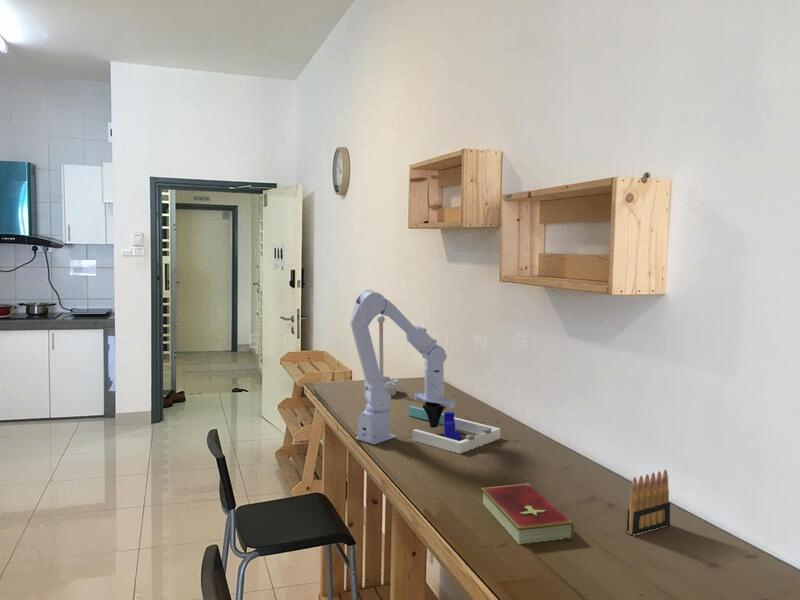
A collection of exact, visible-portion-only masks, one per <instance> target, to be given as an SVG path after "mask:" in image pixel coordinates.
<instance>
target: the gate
mask: <svg viewBox="0 0 800 600" xmlns="http://www.w3.org/2000/svg"><path fill="white" fill-rule="evenodd" d="M407 410H408V416H410V417H414V418H418V419H420V420H426V421H429V419H428V416H427V414H426V412H425V410H424V408H423V407H417V406H413V405H409V406H408V409H407ZM439 424H441V425H444V413H442V414H441V417H440V420H439Z"/></svg>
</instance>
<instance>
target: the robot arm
mask: <svg viewBox="0 0 800 600" xmlns="http://www.w3.org/2000/svg"><path fill="white" fill-rule="evenodd" d="M379 314H380V315H382V316H386V317H388V319H389V318H390V320H392V321H393V322H394V323H395V324H396V325H397V326H398V327H399V328H400V329H401V330H402V331H403V332H404V333H405V336H406V339H405V340H406V341H407V342H408V343H409V344H411V346H412V347H414V349H415V350H416V351H417V352H419V354H421V356H422V359H425V360H424V393H420V392H418V393H414V401H420V402H425V403H424V404H422V409H424V410H425V412H426V414H427V416H428V419H429V420H428V422H429V426H430V428H433V429H435V428H438V427H439V424H440V423H439V420H440V417H441V414H443V413H444V411H445V408H448V409H454V408H455V407H456V406H455V405H456V403H455V400H452V399H450V398H447V397H445V395H444V391H445V390H444V387H445V386H444V379H445V378H444V372H445V371H444V370H445V369H444V363H445V361H446V360H447V358H448V357H447V356H448V355H447V354H446V350H445V349H444V347H442V346H440V345H439V344H438V343H437V342H438V341H437V339H435V338H434V339H433V337H432V336H431V335H429V334H428V332H427V331H428V330H427V329H426V328H425V327H424V326H423V327H422V326H420V325H413V324H412V322H411V321H410V320H409V319H408V318H407V317H406V316H405V315H404V313H402V311H400V309H398V307H397V306H396V305H395V303H393V302H391V301H390V300H389V299H387V298H385V296H384V295H382V293H380V292H376V291H375V290H372V289H366V290H363V291H362V292H361V293H360V294H359V295H358V296H357V298H356V299H355V302H354V308H353V311H352V315H351V318H350V328H351V331H352V336H353V339H354V342H355V347H356V351H357V354H358V360H359V363H360V366H361V369H362V374H363V377H364V379H365V381H363V382H364V383H365V386H364V398H365V400H366V401H367V403H366V405H365V410H364V411H363V412H361V413H360V414H359V415H358V418H357V436H356V437H355V439H356V440H358V441H361V442H365V443H367V444H368V443H369V444H370V445H371V444H372V445H376V444H379V443H380V444H381V443H384V442H385V441H389V440H392V439H395V438H397V435H396V434H392V433H391V416H390V415H391V404H392V396H390V394H389V393H388V392H387V391H386V389H385V385H384V383H383V380H382V378H381V375H380V371H379V365H378V363H379V362H378V360H377V359H378V358H377V356H376V351H375V348H374V345H373V340H372V336H371V332H370V328H369V325H371V323H372V321H373V319H374V318H375V317H378V316H379Z"/></svg>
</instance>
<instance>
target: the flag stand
mask: <svg viewBox="0 0 800 600" xmlns="http://www.w3.org/2000/svg"><path fill="white" fill-rule="evenodd" d="M384 316H385V315H382V314H380V315H377V318H376V321H377V322H378V346H379V347H378V350H379V353H378V354H379V355H378V357H379V358H378V359H379V360H378V361H379V362H378V363H379V365H378V367H379V371H380V375H381V378H382V380H383V383H384V385H385V389H386V391H387V392H388V393H389V394H390V396H391V397H392V396H395V395H396V394H397V388H398V387H399V378H398V377H394V376H393V377H392V379H390V376H389V375H384V322H385V320H386V318H385V317H384ZM364 381H365V378H364ZM364 381H363V382H364ZM363 386H364V387H365V383H364V385H363Z"/></svg>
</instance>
